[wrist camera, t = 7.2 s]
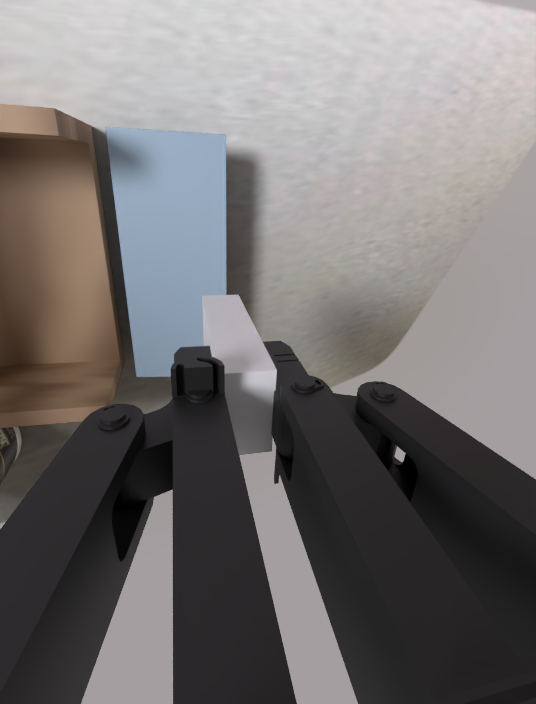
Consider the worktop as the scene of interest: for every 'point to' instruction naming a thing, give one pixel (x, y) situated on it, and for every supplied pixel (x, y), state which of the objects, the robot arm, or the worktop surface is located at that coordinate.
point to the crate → (53, 273)
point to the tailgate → (168, 236)
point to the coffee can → (8, 449)
